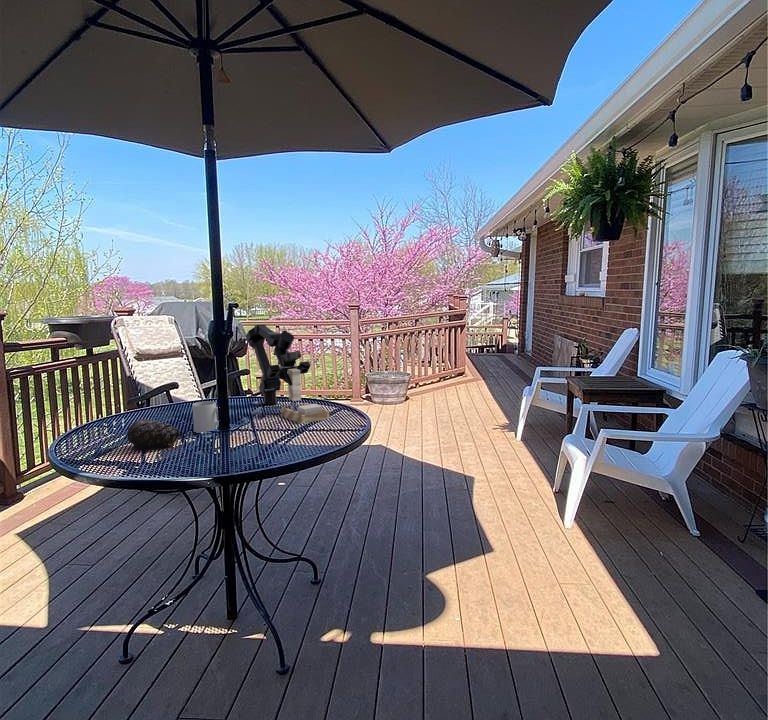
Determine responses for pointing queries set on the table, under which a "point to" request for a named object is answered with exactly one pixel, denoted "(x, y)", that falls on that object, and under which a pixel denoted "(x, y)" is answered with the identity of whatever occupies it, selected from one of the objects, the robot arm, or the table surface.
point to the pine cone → (152, 435)
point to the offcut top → (309, 409)
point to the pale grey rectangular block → (294, 385)
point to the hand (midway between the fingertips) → (295, 384)
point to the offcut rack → (304, 418)
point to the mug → (205, 416)
